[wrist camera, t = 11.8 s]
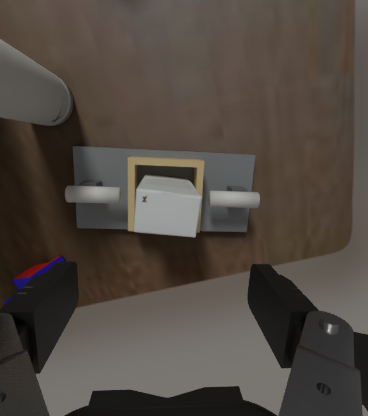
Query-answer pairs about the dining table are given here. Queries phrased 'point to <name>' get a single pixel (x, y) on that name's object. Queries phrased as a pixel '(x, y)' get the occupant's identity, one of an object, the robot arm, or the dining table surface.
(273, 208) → the dining table surface
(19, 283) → the toy building block
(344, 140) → the dining table surface
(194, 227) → the skincare box
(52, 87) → the travel mug
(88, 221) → the stand
